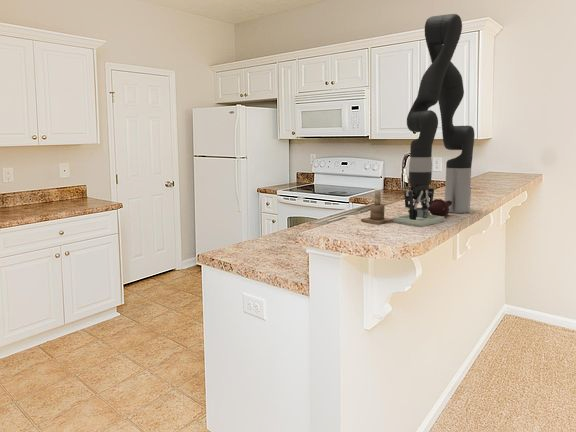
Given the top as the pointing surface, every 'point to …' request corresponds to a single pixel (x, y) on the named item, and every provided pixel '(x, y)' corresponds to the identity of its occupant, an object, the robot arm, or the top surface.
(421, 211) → the ring
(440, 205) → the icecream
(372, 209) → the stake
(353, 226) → the top surface
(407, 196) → the robot arm
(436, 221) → the tray
